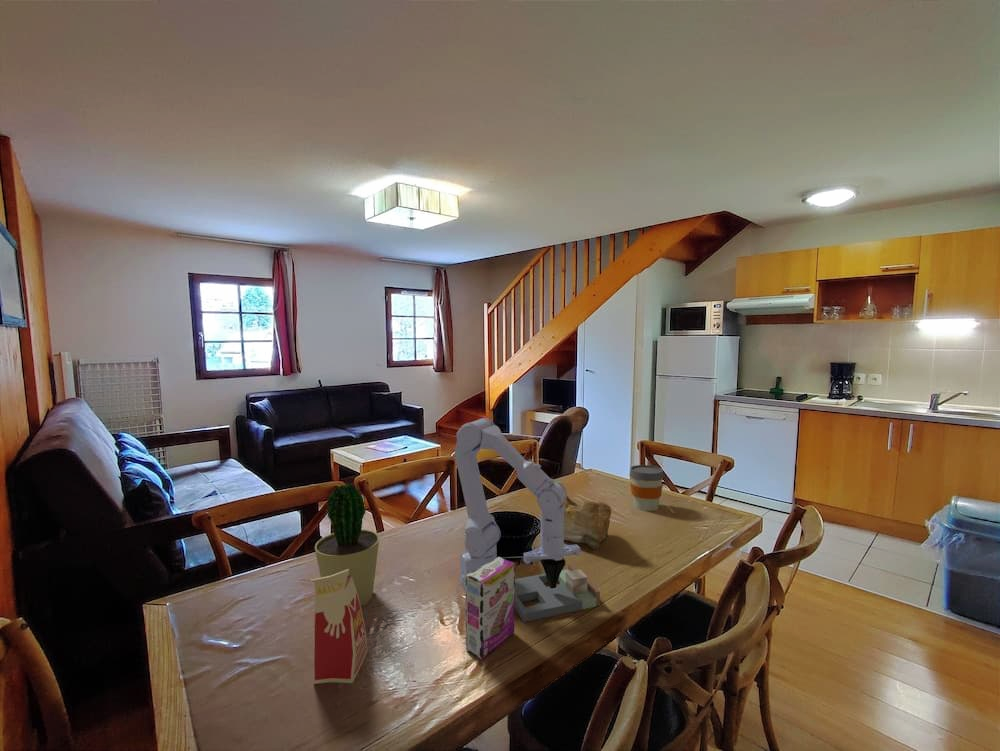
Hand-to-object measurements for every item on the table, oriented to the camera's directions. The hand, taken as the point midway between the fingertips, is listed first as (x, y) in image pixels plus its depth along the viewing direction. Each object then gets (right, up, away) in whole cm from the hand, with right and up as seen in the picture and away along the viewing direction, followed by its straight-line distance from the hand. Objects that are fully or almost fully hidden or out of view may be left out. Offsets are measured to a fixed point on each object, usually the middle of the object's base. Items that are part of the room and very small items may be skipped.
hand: (552, 586), depth 111 cm
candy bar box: (-15, -5, -15) cm, 22 cm away
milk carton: (-45, -6, -22) cm, 50 cm away
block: (+6, -2, +1) cm, 7 cm away
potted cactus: (-51, -4, +2) cm, 51 cm away
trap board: (0, -4, +2) cm, 4 cm away
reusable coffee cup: (+44, +1, +64) cm, 78 cm away
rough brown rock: (+16, -2, +35) cm, 39 cm away
